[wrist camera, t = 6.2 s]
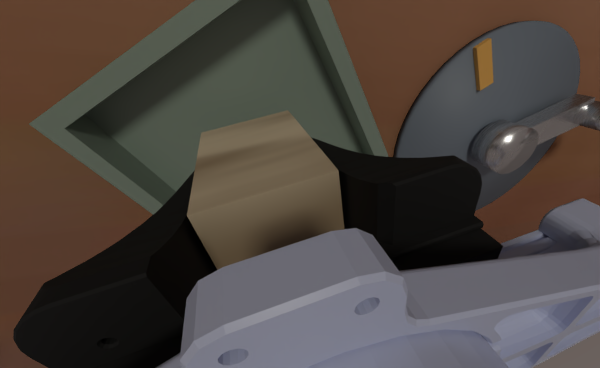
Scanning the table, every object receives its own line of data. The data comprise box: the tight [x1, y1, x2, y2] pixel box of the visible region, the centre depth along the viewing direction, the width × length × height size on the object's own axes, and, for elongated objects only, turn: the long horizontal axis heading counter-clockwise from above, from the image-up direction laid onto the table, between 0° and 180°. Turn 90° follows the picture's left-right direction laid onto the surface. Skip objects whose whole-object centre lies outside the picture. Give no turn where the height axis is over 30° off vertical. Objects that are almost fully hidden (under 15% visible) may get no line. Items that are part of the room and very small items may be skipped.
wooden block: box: [187, 110, 344, 270], centre depth 10 cm, size 4×4×6 cm
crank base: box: [393, 21, 580, 211], centre depth 20 cm, size 16×16×1 cm
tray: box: [30, 0, 388, 215], centre depth 14 cm, size 13×13×2 cm
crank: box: [471, 94, 600, 174], centre depth 18 cm, size 10×4×5 cm, turn 110°
